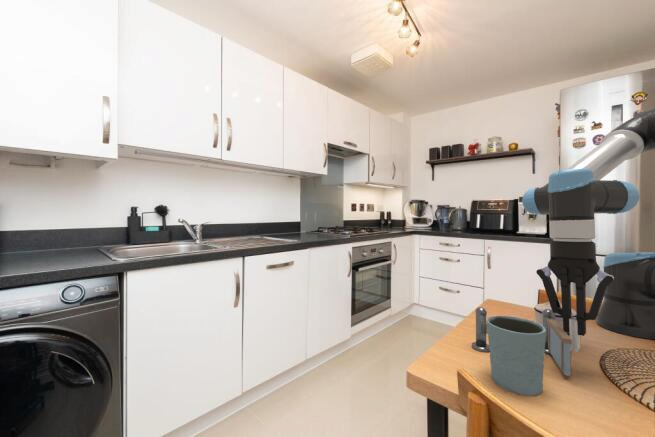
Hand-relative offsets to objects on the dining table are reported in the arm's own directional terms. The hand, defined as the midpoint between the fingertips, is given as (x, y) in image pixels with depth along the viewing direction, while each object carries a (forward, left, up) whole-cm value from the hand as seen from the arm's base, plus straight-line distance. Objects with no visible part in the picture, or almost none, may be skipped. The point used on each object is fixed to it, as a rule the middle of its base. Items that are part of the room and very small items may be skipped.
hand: (575, 348), depth 60 cm
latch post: (+15, -10, -5) cm, 19 cm away
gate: (+2, -2, -4) cm, 5 cm away
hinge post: (-1, -10, -5) cm, 11 cm away
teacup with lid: (-7, -16, -5) cm, 18 cm away
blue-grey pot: (+15, +5, -5) cm, 17 cm away
